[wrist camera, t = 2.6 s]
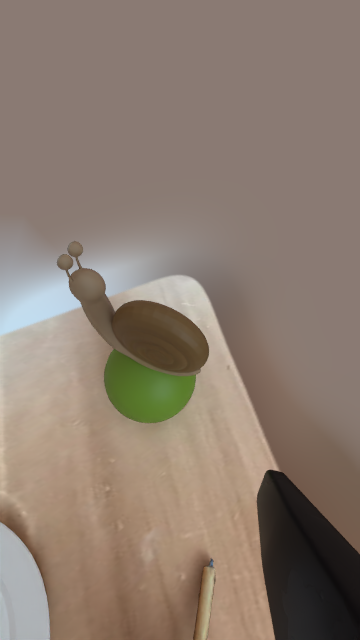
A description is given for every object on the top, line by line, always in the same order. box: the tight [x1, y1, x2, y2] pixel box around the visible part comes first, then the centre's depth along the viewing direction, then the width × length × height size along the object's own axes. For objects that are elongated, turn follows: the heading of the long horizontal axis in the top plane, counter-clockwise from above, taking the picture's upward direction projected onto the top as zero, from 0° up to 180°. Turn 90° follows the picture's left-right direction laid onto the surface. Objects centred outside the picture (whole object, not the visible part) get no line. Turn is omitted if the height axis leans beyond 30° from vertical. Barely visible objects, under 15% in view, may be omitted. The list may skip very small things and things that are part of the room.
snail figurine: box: [57, 241, 209, 423], centre depth 15 cm, size 5×6×12 cm
